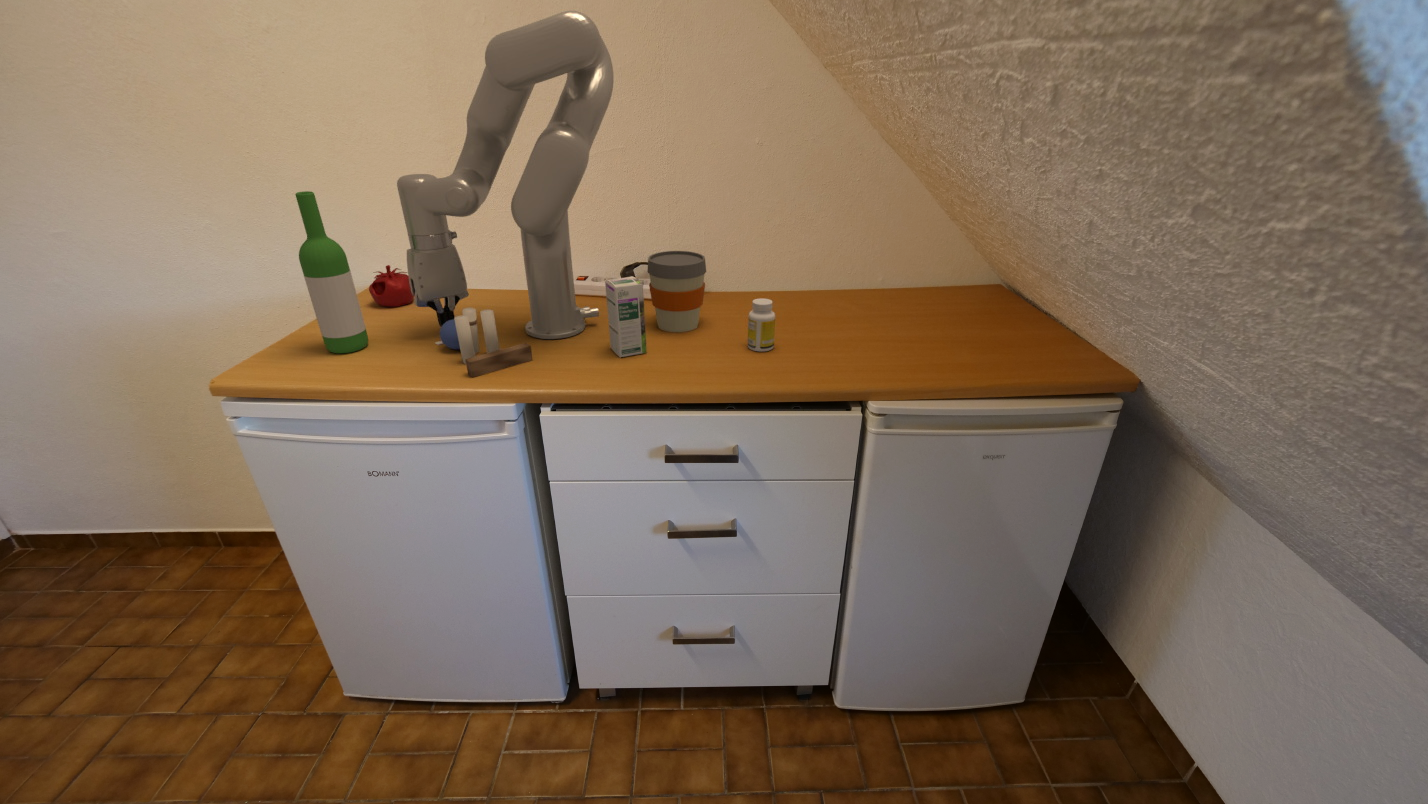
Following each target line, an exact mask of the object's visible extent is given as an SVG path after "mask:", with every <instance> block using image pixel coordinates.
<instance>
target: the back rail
mask: <svg viewBox="0 0 1428 804" xmlns="http://www.w3.org/2000/svg"><path fill="white" fill-rule="evenodd" d="M533 360H534V359H533V352H532V346H531V345H530V344H529V343H527V342H524V343H519V344H516V345H513V346H510V347H505V348H502V349H500V350H497V351H494V352H490V353H487V352H486V353H483V354H479V355H475V357H472V358H468V359H465V361H466V364H465V365H466V371H467V375H468V376H469V377H471V378H473V379H474V378H476V377H479V376H483V375H486V373H487V374H490V373H493V372H496V371H500V370H503V369H507V368H511V367H514V366H516V365H521V364H525V363H527V362H531V361H533Z"/></svg>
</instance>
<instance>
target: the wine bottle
mask: <svg viewBox="0 0 1428 804" xmlns="http://www.w3.org/2000/svg"><path fill="white" fill-rule="evenodd" d="M294 195H295V198H296V202H297V205H298V208H299V213H300V216H301V218H302V219H301V220H302V223H303V226H304V229H305V233H306V239H305V241H304V242H303V243H302V244H301V246H300V248H299V251H298V260H299V264H300V266H301V270H302V274H303V277H304V281H305V284H306V287H307V291H308V294H309V298H310V301H311V304H312V308H313V311H314V314H315V317H316V321H317V324H318V328H319V330H320V331H319V332H320V333H321V337H322V339H323V343H324V345H325V348H326V350H327V351H329V352H330V353H333V354H351V353H354V352H357V351H360V350H362V349H364V348H366V347H367V346H368V344H369V335H368V331H367V328H366V323H365V320H364V317H363V312H362V309H361V305H360V302H359V298H358V295H357V294H358V293H357V290H356V287H355V283H354V280H353V276H352V272H351V269H350V265H349V262H348V258H347V257H348V256H347V255H346V252H345V251H344V249H343V247H342V246H341V245H340V244H339V243H338V242H337V241H336V240H334V239H333V238H330V237H329V236H328V235H327V234H326V229H325V226H324V223H323V220H322V216H321V213H320V210H319V205H318V201H317V199H316V195H315V193H314V192H313V191H310V190H309V191H307V190H306V191H299V192H296V193H295V194H294Z"/></svg>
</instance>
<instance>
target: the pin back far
mask: <svg viewBox="0 0 1428 804" xmlns="http://www.w3.org/2000/svg"><path fill="white" fill-rule="evenodd" d="M454 319H455V325H456V330H457V335H458V340H459V345H460V349H459V350H460V354H461V359H462V360H461V361H462V364H463V365H466V361H465V359H468V358H472V357H475V356H476V354H475V352H474V347H473V341H472V336H471V330H470V325H469V319H468V316H466V315H463V314H462V315H456V316H455V318H454Z"/></svg>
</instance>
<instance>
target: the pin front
mask: <svg viewBox="0 0 1428 804" xmlns="http://www.w3.org/2000/svg"><path fill="white" fill-rule="evenodd" d="M461 310H462V315H466V316H468V319H469V325H470V330H471V336H472V341H473V347H474V352H475V355H476V354H478V353H479V352H480V346H479V345H480V344H479V333H478V318H477V311H476V308H473V307H465V308H463V309H461Z"/></svg>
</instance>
